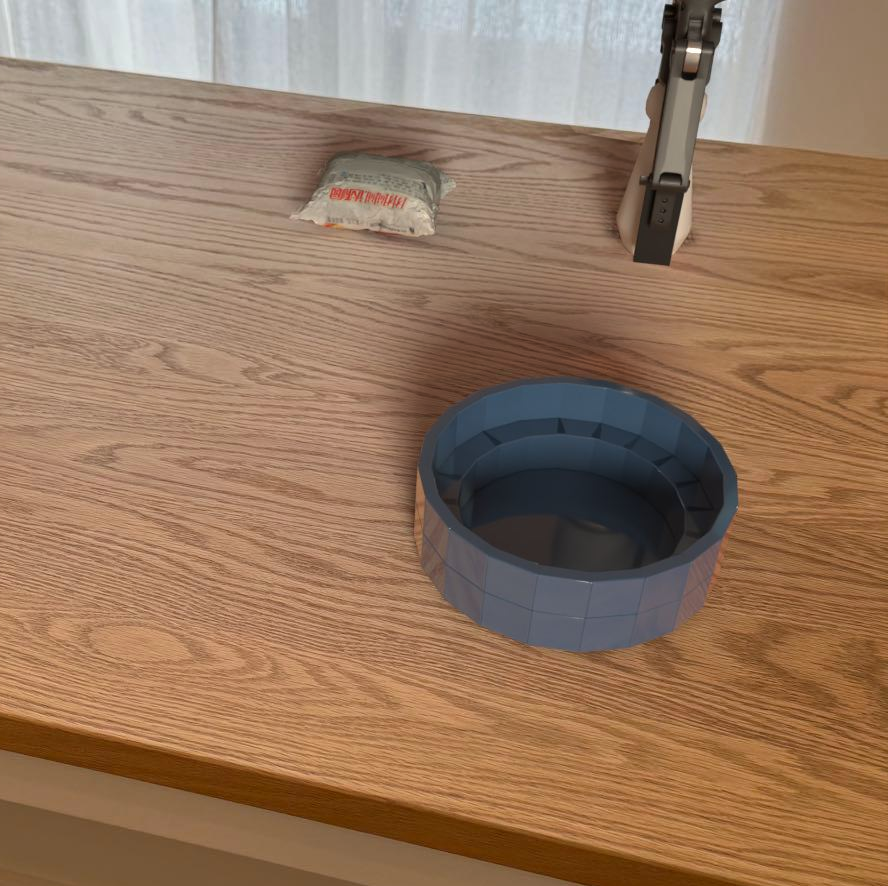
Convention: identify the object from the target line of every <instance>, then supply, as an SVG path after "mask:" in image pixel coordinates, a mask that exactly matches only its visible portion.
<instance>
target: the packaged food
mask: <svg viewBox="0 0 888 886" xmlns="http://www.w3.org/2000/svg"><path fill="white" fill-rule="evenodd" d="M316 178H317V179H316V181H319V182H318V184H317V186H316V187H315V189H314V191H313V193H312V195H311V196H310V197H309V198H308V199H306V200H304V201H303V202H302V203H301V204H300V205H298V206H297V207H296V208H295V209H294V210H292V211H291V213H290V215H289V218H288V219H290V220H295V221H296V220H299V219H300V220H305V221H311V220H312V221H313V223H314V224H315V225H318V226H320V227H323V228H327V229H328V228H329V229H340V230H341V229H342V230H352V231H353V230H354V231H367V232H368V231H371V232H373V233H375V234H378V235H393V236H405V237H414V238H418V237H420V236H423V235H424V236H426V237H427V236H434V235H435V234H436V232H437V227H438V220H437V218H438V215H437V213H440V214H442V211H441V208H440V202H441V200H442V199H444V198H445V197H446V195H447V194H448V193H450V192H452V190H453V189H456V188H457V185H458V183H457V182H456V181H455V180H454V179H453V178H452V177H451V176H450V175H448V174H447V173H445V171H443V170H442V169H441V168H439V167H437V165H434V164H433V163H431V162H430V161H427V160H421V159H412V158H407V157H398V156H384V155H382V154H375V153H368V152H361V151H358V150H357V151H356V150H349V151H347V150H346V151H339V152H336V153H334V154H333V155H332V156H331V157H329V159H328V160H327V161H324V166H323V167H322V168H321V167H320V168H319V170H318V172H316Z"/></svg>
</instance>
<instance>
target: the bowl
mask: <svg viewBox="0 0 888 886" xmlns="http://www.w3.org/2000/svg"><path fill="white" fill-rule="evenodd" d="M416 466H417V467H416V483H415V484H416V486H415V501H414V504H415V505H414V523H413V537H414V541H415V545H416V546H415V547H416V550H417V555H418V560H419V564H420V567H421V569H422V570H423V571H424V573H425V574H426V576H427V577H428V578H429V580H430V582H431V583H432V584H433V585H434V587H435V589H436V590H437V591H438V593H439V594H440V595H441V597H442V598H443V600H444V601H446V602H447V603H448V604H450V605H451V606H452V607H453V608H455V609H456V610H458V611H459V612H460V613H462V614H463V615H464V616H466V617H467V618H468V619H470V620H471V621H472V622H474V623H475V624H477V626H479V627H481V628H484V629H487V630H489V631H491V632H494V633H497V634H500V635H501V636H504V637H507V638H508V639H512V640H514V641H517V642H519V643H520V644H521V643H522V644H523V645H528V646H532V647H539V648H545V649H553V650H560V651H566V652H572V653H589V652H601V651H603V652H604V651H613V650H624V649H626V650H627V649H631V648H634V647H637V646H639V645H642V644H645V643H647V642H651V641H653V640H656V639H658V638H662V637H664V636H667V635H670V634H672V633H674V632H675V631H676V630H677V629H679V628H681V626H683V624H685V623H686V622H687V621H689V620H690V619H691V618H692V617H694V615H696V614H697V613H698V612H699V611H700V610H702V609H703V608H704V606H705V604H706V602H707V600H708V599H709V596H710V595H711V592H712V591H713V588H714V586H715V584H716V583H717V580H718V579H719V575H720V572H721V568H722V565H723V562H724V558H725V555H726V552H727V548H728V544H729V541H730V537H731V535H732V531H733V527H734V524H735V520H736V516H737V513H738V510H739V484H738V483H739V480H738V478H739V477H738V473H737V471H736V469H735V468H734V466H733V463H732V462H731V460H730V458H729V456H728V454H727V452H726V450H725V448H724V446H723V445H722V443H721V442H720V441H719V440H718V439H717V438H716V437H715V436H714V435H713V434H711V432H710V431H708V430H707V429H706V428H705V427H704V425H702V424H701V423H700V422H699V421H698V420H696V418H695V417H694V416H692V415H691V414H690V413H688V412H687V411H684V410H683V409H681V408H680V407H677V406H676V405H673V404H672V403H670V402H668V401H666V400H665V399H663V398H661V397H659V396H657V395H655V394H653V393H650V392H646V391H643V390H641V389H637V388H633V387H631V386H626V385H624V384H621V383H619V382H618V383H617V382H615V381H610V380H607V379H606V380H605V379H596V378H589V377H582V376H581V377H580V376H571V375H552V376H537V377H520V378H515V379H512V380H509V381H506V382H501V383H499V384H495V385H491V386H488V387H484V388H481V389H478V390H476V391H474V392H472V393H471V394H469V395H467V396H466V397H465V398H463V399H460V400H459V401H457V402H456V403H454V404H453V405H451V406H449V407H447V408H446V409H445V410H444V411H443V412H442V414H441V415H440V416H439V417H438V418H437V420H436V421H435V422H434V423H433V424H432V426H431V427H430V428H429V429H428V431H427V432H425V434H424V437H423V442H422V445H421V449H420V452H419V458H418V461H417V465H416Z"/></svg>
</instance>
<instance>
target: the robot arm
mask: <svg viewBox="0 0 888 886" xmlns="http://www.w3.org/2000/svg"><path fill="white" fill-rule="evenodd" d="M725 1H727V0H672V3H664V7H663V13H662V20H661V35H660V48H659V53H660V54H661V59H660V64H659V70H658V74H657V78H655V82H654V85H656V84H657V83H660V84H661V85H662V86H663V87H664V94H663V101H662V107H661V114H660V120H659V127H658V133H657V140H656V146H655V153H654V159H653V166H652V172H651V174H649V176H640V180H639V185H644V186H646V190H645V196H644V201H643V207H642V212H641V218H640V223H639V229H638V234H637V239H636V245H635V250H634V256H633V255H632V256H633V257H632V263H637V264H649V265H657V266H664V267H670V265H671V261H672V256H673V254H672V251H673V247H674V242H675V237H676V232H677V227H678V222H679V217H680V213H681V208H682V203H683V198H684V193H686V192H687V191H688V188H689V187H690V180H689V177H690V171H691V166H692V160H693V161H694V155H695V149H696V143H697V137H698V132H699V128H700V127H699V126H700V123H699V121H700V116H701V110H702V105H703V99H704V93H706V87H707V86H708V85H709V83H710V81H711V77H712V70H713V64H714V58H715V53H716V49H717V48H718V46H719V44H720V42H721V37H722V32H723V26H724V25H723V24H724V23H723V21H721V20H722V14H723V8H722V7H716V5H719V4H720V3H722V2H725ZM650 123H651V120H650V119H649V124H650Z"/></svg>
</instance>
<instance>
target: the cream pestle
mask: <svg viewBox="0 0 888 886" xmlns="http://www.w3.org/2000/svg"><path fill="white" fill-rule="evenodd" d="M663 94H664V87H663V86H662V85H661V84H660V83H657V84H656V85H655V84H654V85H653V86H651V88H650V90H649V92H648V95H647V98H646V99H645V109H644V110H645V114H646V116H647V117H648V119H649V121H650V120H651V123H650V122H649V125H648V128H647V131H646V134H645V137H644V138H643V141H642V144H641V147H640V151H639V153H638V155H637V158H636V161H635V164H634V166H633V169H632V173H631V175H630V178H629V179H628V180H629V181H628V183H627V186H626V189H625V191H624V194H623V197H622V199H621V202H620V205H619V208H618V211H617V213H616V216H615V217H616V221H615V222H616V226H617V229H618V232H619V236H620V240H621V243H622V245H623V246H624V248H625V249H626V250H627V251H628V252H629V253H630V254H631V255H632V256H634V250H635V245H636V239H637V234H638V229H639V223H640V218H641V212H642V207H643V201H644V196H645V190H646V186H644V185H639V180H640V176H649V174H651V172H652V166H653V159H654V153H655V146H656V140H657V133H658V127H659V120H660V114H661V107H662V101H663ZM707 106H708V95H707V92H705V93H704V99H703V105H702V110H701V116H700V121H699V124H700V123H701V122H702V120H703V119H704V117H705V113H706V109H707ZM689 180H690V187H689V188H688V191H687V192H686V193H684V198H683V203H682V208H681V213H680V217H679V222H678V227H677V232H676V237H675V242H674V247H673V251H672V255H674V254H675V253H676V252H677V251H678V249H679V248H680V247H681V246H682V244H683V243H684V241H685V240H686V239H687V237H688V236H689V233H690V231H691V229H692V224H693V221H694V217H693V216H694V214H693V213H694V207H693V206H694V196H693V195H694V193H693V192H694V159H693V160H692V166H691V171H690V177H689Z"/></svg>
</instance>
